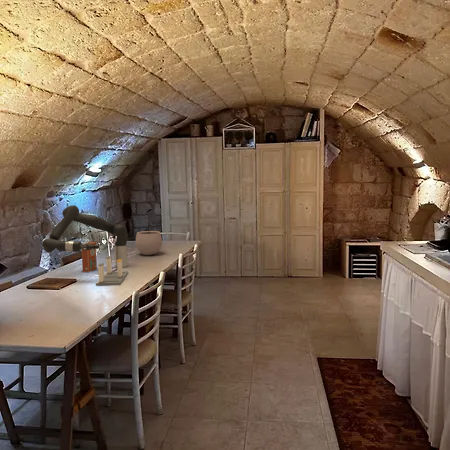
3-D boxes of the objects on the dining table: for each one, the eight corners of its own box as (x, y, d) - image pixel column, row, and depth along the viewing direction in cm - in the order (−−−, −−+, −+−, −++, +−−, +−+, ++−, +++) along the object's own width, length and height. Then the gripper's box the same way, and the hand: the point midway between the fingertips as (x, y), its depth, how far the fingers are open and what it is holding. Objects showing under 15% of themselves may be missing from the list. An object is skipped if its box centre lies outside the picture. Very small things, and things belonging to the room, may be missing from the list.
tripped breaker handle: (117, 277, 299) (116, 260, 298) (118, 275, 304) (118, 259, 303) (121, 277, 299) (120, 260, 298) (122, 275, 305) (121, 259, 303)
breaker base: (95, 285, 284) (94, 265, 282) (106, 273, 319) (105, 255, 317) (120, 285, 285) (119, 264, 283) (128, 273, 320) (127, 255, 318)
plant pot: (163, 256, 386) (162, 223, 383) (136, 257, 381) (135, 224, 378) (161, 251, 409) (160, 220, 406) (135, 253, 404) (134, 221, 401)
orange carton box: (98, 268, 338) (88, 272, 324) (90, 268, 340) (80, 272, 325) (97, 241, 336) (87, 244, 321) (89, 241, 337) (79, 244, 323)
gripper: (70, 243, 290) (97, 243, 292) (75, 239, 303) (100, 239, 305) (70, 253, 291) (97, 254, 293) (75, 249, 304) (100, 250, 306)
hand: (98, 247), depth 299 cm, fingers closed
